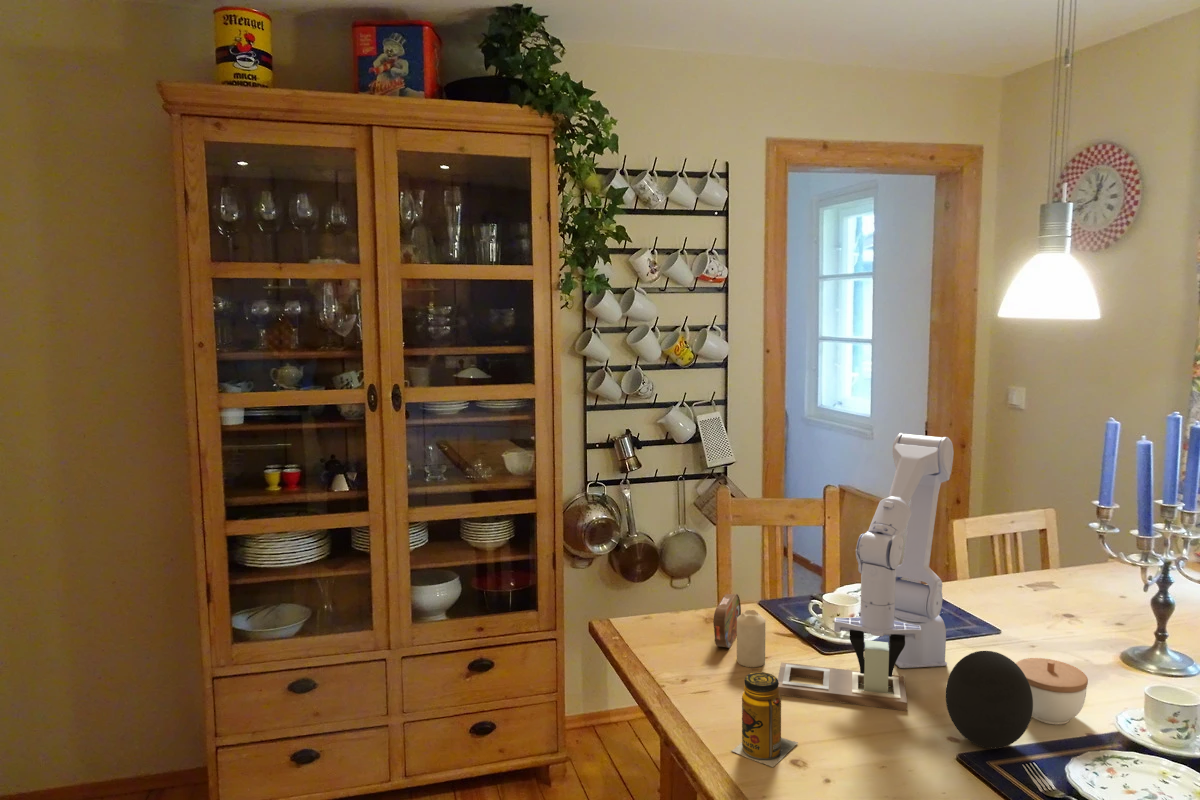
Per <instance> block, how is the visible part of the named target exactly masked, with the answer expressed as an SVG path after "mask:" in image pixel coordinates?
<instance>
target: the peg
mask: <svg viewBox="0 0 1200 800" xmlns="http://www.w3.org/2000/svg"><path fill="white" fill-rule="evenodd" d="M888 672H889V641H878V640H871V639H870V640H868V639H864V684H863V691H870V692H878V693H886V694H889V687H888Z"/></svg>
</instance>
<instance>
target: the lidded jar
mask: <svg viewBox="0 0 1200 800" xmlns="http://www.w3.org/2000/svg"><path fill="white" fill-rule="evenodd" d="M1015 663H1016V664H1017V665H1018V666H1019V668H1020V669H1021V670H1022V671H1023V673H1024V674H1025V676H1026V678H1027V680H1028V682H1029V685H1030V688H1031V691H1032V697H1033V712H1032V717H1031V718H1033V719H1035V720H1036V721H1039V722H1042V723H1045V724H1048V725H1057V726H1058V725H1065V724H1067V723H1069V721H1070V720H1072V719H1074V718H1075V717H1076V716H1078V715H1079V713H1081V711H1082V709H1083V708H1084V706H1085V705H1084V704H1085V701H1086V697H1087V688H1088V685H1089V679H1088V676H1087V675H1086V673H1085V672H1083V671H1082V670H1081V669H1079V668H1078V667H1075V666H1074V665H1071V664H1069V663H1066V662H1063V661H1059V660H1055V659H1050V658H1041V657H1030V658H1029V657H1028V658H1023V659H1021V660H1020V659H1019V660H1018V661H1017V662H1015Z"/></svg>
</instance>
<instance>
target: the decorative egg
mask: <svg viewBox="0 0 1200 800" xmlns="http://www.w3.org/2000/svg"><path fill="white" fill-rule="evenodd" d="M1016 663H1017V662H1015V661H1014V660H1013V659H1011V658H1010V657H1008V656H1006V655H1004V654H1002V653H1000V652H996V651H992V650H979V651H974V652H971V653H969V654H967V655H965V656H964V657H962V658H961V659H959V661H958V662H957V663H956V664H955V665H954V667H953V668H952V669H951V671H950V674H949V676H948V678H947V683H946V686H945V704H946V710H947V712H948V715H949V718H950V720H951V722H952V723H953V725H954V727H955V729H956V730H957V731H958V732H959V733H960V734H961V735H962V737H963V738H965V739H966V740H967V741H969V742H970V743H973V745H976V746H978V747H982V748H986V749H1000V748H1004V747H1008V746H1010V745H1012V744H1014V743H1015V742H1017V741H1018V740H1019V739H1021V737H1022V736H1023V735H1024V734H1025V733H1026V731H1027V729H1028V727H1029V725H1030V722H1031V720H1032V718H1033V717H1032V712H1033V697H1032V691H1031V688H1030V685H1029V682H1028V680H1027V678H1026V676H1025V674H1024V673H1023V671H1022V670H1021V669H1020V668H1019V666H1018V665H1017V664H1016Z"/></svg>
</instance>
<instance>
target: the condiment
mask: <svg viewBox="0 0 1200 800" xmlns="http://www.w3.org/2000/svg"><path fill="white" fill-rule="evenodd" d="M778 685H779V682H778V677H776V676H775V675H773V674H771V673H769V672H766V671H765V672H764V671H755V672H751V673H748V674H746V675H745V677H744V685H743V693H742V694H741V729H742V730H741V737H742V738H741V741H742V742H740V743H739V744H738V745H737V746H735V748H733V749H732V750H730V751H731V752H733V753H736V754H737V755H740V756H742V757H745V758H747V759H749V760H752V761H755V762H757V763H760V764H765V765H766V766H769V767H771V768H773V767H775V766H776V765H777V764H778V763H779V762H781V760H783V759H784V758H785V756H786V755H787V754H788V753H789V752H790V751H791V750H793V749H794V748H795V747H796V745H797V744H798V743H799V742H797V741H793V740H791V739H788V738H784V737H782V697H781V696H782V695H780V694H779V688H778Z"/></svg>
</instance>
